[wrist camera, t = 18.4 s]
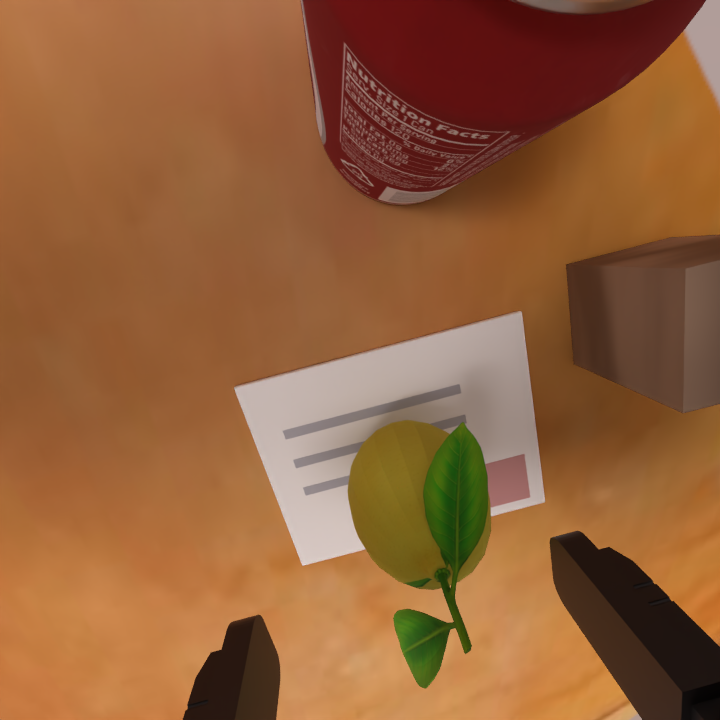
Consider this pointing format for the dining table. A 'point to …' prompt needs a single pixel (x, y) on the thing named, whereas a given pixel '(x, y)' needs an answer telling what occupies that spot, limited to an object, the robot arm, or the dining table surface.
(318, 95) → the soda can
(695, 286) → the walnut block
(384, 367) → the letter
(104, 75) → the dining table surface
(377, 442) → the lemon
